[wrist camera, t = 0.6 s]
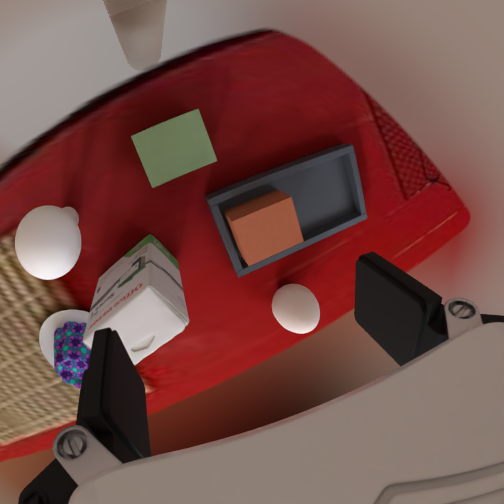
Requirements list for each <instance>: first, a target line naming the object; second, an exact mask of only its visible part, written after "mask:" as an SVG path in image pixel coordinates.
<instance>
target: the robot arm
mask: <svg viewBox="0 0 504 504" xmlns="http://www.w3.org/2000/svg"><path fill="white" fill-rule="evenodd" d="M441 301H442V297H440V296H439V295H438V294H436V293H435V292H433V291H432V290H431V289H429V288H428V287H426V286H425V285H423V284H422V283H420V282H419V281H417V280H416V279H414V278H413V277H411V276H410V275H408V274H407V273H405V272H404V271H402V270H401V269H399V268H398V267H396V266H395V265H393V264H392V263H390V262H389V261H387V260H385V259H384V258H382V257H381V256H379V255H378V254H376V253H374V252H370V253H367V254H364V255H361V256H360V257H359V259H358V260H357V261H356V282H355V312H354V315H355V319H356V321H357V323H358V324H359V325H360V326H361V327H362V328H363V329H364V330H365V331H366V332H367V333H368V334H369V335H370V336H371V337H372V338H373V339H374V340H375V341H376V342H377V343H378V344H379V345H380V346H381V347H382V348H383V349H384V350H385V351H386V352H387V353H388V354H389V355H390V356H391V357H392V358H393V359H394V360H395V361H396V362H397V363H398V364H399V365H400V366H401V367H399V368H397V369H395V370H393V371H392V372H390V373H388V374H386V375H384V376H382V377H380V378H378V379H376V380H374V381H372V382H370V383H368V384H366V385H364V386H362V387H360V388H357V389H355V390H353V391H351V392H349V393H347V394H344V395H342V396H340V397H338V398H335V399H333V400H331V401H329V402H326V403H324V404H322V405H319V406H317V407H314V408H312V409H310V410H307V411H304V412H302V413H299V414H297V415H294V416H291V417H289V418H286V419H283V420H280V421H278V422H275V423H272V424H269V425H266V426H263V427H261V428H257V429H254V430H251V431H248V432H245V433H242V434H238V435H235V436H231V437H229V438H225V439H221V440H218V441H214V442H210V443H206V444H202V445H199V446H195V447H191V448H187V449H182V450H178V451H174V452H170V453H165V454H160V455H156V456H152V457H151V450H150V441H149V431H148V421H147V409H146V395H145V387H144V383H143V381H142V379H141V377H140V375H139V374H138V372H137V370H136V368H135V366H134V364H133V362H132V360H131V358H130V356H129V354H128V352H127V350H126V348H125V346H124V344H123V342H122V340H121V338H120V336H119V334H118V332H117V331H116V330H113V331H112V329H111V328H109V327H108V328H104V329H100V330H96V331H95V332H94V337H93V342H92V347H91V353H90V359H89V365H88V369H86V370H85V371H84V373H83V377H82V383H81V390H80V397H79V404H78V412H77V421H76V425H72V426H69V427H66V428H64V429H63V430H61V431H60V432H59V433H58V434H57V436H56V437H55V439H54V442H53V452H54V455H55V457H56V458H55V460H53V461H52V462H51V463H50V464H49V465H48V466H47V467H46V468H45V469H44V470H43V471H42V472H41V473H40V474H39V475H38V476H37V477H36V478H35V479H34V480H33V481H32V482H31V483H29V484H28V485H27V486H26V487H25V488H24V490H23V491H22V492H21V494H20V497H19V503H18V504H504V316H500V315H487V314H480V312H479V309H478V307H477V306H476V305H475V304H474V303H473V302H471V301H470V300H467V299H464V298H453V299H450V300H448V301H447V302H446V303H445V305H443V304H441Z"/></svg>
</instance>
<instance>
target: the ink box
mask: <svg viewBox="0 0 504 504" xmlns="http://www.w3.org/2000/svg"><path fill="white" fill-rule="evenodd" d="M188 323H189V318H188V313H187V308H186V304H185V299H184V293H183V288H182V283H181V277H180V272H179V266H178V261H177V260H176V259H175V258H174V257H173V256H172V254H171V253H170V252H169V251H168V250H167V249H166V248H165V247H164V246H163V245H162V244H161V243H160V242H159V241H158V240H157V239H156V238H155V237H154V236H153V235H152V234H149V235H148V236H146V237H145V238H144V239H143V240H141V241H140V242H139V243H138V244H137V245H136V246H135V247H133V248H132V249H131V250H130V251H129V252H128V253H126V254H125V255H124V256H123V257H122V258H121V259H120V260H118V261H117V262H116V263H115V264H114V265H113V266H112V267H111V268H109V269H108V270H107V271H106V272H105V273H104V274H103V275H102V276H101V277H100V278H99V280H98V284H97V287H96V291H95V294H94V298H93V302H92V305H91V309H90V313H89V317H88V321H87V325H86V329H85V333H84V337H83V343H84V344H85V345H86V346H87V347H88V348H89V349H90V350H91V347H92V342H93V337H94V332H95V331H96V330H100V329H104V328H108V327H109V328H111V329H112V331H113V330H116V331H117V332H118V334H119V336H120V338H121V340H122V342H123V344H124V346H125V348H126V350H127V352H128V354H129V356H130V358H131V360H132V362H133V364H134V365H135V364H137V363H138V362H140V361H141V360H142V359H143V358H145V357H146V356H147V355H149V354H151V353H152V352H154V351H155V350H156V349H157V348H159V347H160V346H161V345H163V344H164V343H166V342H168V341H169V340H171V339H172V338H173V337H174V336H175V335H177V334H179V333H180V332H182V331H183V330H184V328H185V326H186V325H187V324H188Z"/></svg>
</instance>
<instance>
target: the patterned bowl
mask: <svg viewBox="0 0 504 504" xmlns="http://www.w3.org/2000/svg"><path fill="white" fill-rule="evenodd" d="M88 317H89V312H86V311H81V310H63V311H60V312H57V313H54V314H53V315H51V316H49V317H48V318H47V319H46V320H45V321H44V323H43V325H42V326H41V329H40V333H39V342H40V346H41V350H42V352H43V354H44V356H45V357H46V359H47V360H48V362H49V363H50V364H51V365H52V366H53V367H54V368H55V371H56V373H57V374H58V375H59V376H61V377H62V380H63V381H64V382H66V383H68V384H73V385H74V386H76V387H79V388H81V383H82V377H83V373H84V371H85V370H86V369H88V365H89V359H90V353H91V350H90V349H89V348H88V347H87V346H86V345H85V344H84V343H83V337H84V333H85V329H86V325H87V321H88Z"/></svg>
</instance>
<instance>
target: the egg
mask: <svg viewBox="0 0 504 504" xmlns="http://www.w3.org/2000/svg"><path fill="white" fill-rule="evenodd" d="M272 310H273V314H274V316H275V318H276V319H277V321H278V322H279V323H280V324H281V325H282V326H283V327H284V328H285V329H287V330H289V331H292V332H295V333H302V334H303V333H307V332H310V331H311V330H313V329H314V328H315V327H316V325H317V324H318V321H319V317H320V310H319V304H318V301H317V299H316V298H315V296H314V295H313V294H312V292H311V291H310V290H309V289H307V288H306V287H304V286H302V285H299V284H287V285H284V286H282V287H281V288H279V289H278V290H277V292H276V293H275V295H274V297H273V301H272Z"/></svg>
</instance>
